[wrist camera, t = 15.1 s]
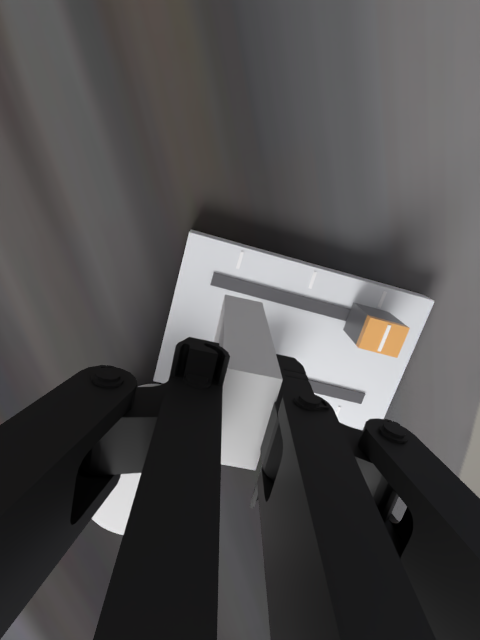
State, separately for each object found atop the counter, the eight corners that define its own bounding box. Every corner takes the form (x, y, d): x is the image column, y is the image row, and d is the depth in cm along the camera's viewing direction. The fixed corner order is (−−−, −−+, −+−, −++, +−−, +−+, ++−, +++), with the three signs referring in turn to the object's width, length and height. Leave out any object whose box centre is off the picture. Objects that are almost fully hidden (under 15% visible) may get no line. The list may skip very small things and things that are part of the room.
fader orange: (353, 302, 39) (370, 317, 34) (388, 311, 39) (410, 328, 35) (343, 329, 40) (358, 348, 35) (377, 338, 40) (397, 358, 36)
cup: (169, 371, 44) (150, 437, 32) (205, 431, 46) (200, 512, 35) (102, 403, 44) (60, 478, 33) (141, 460, 47) (115, 549, 35)
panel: (191, 229, 39) (189, 232, 37) (423, 294, 42) (435, 301, 40) (156, 370, 44) (152, 381, 41) (369, 421, 46) (377, 434, 44)
